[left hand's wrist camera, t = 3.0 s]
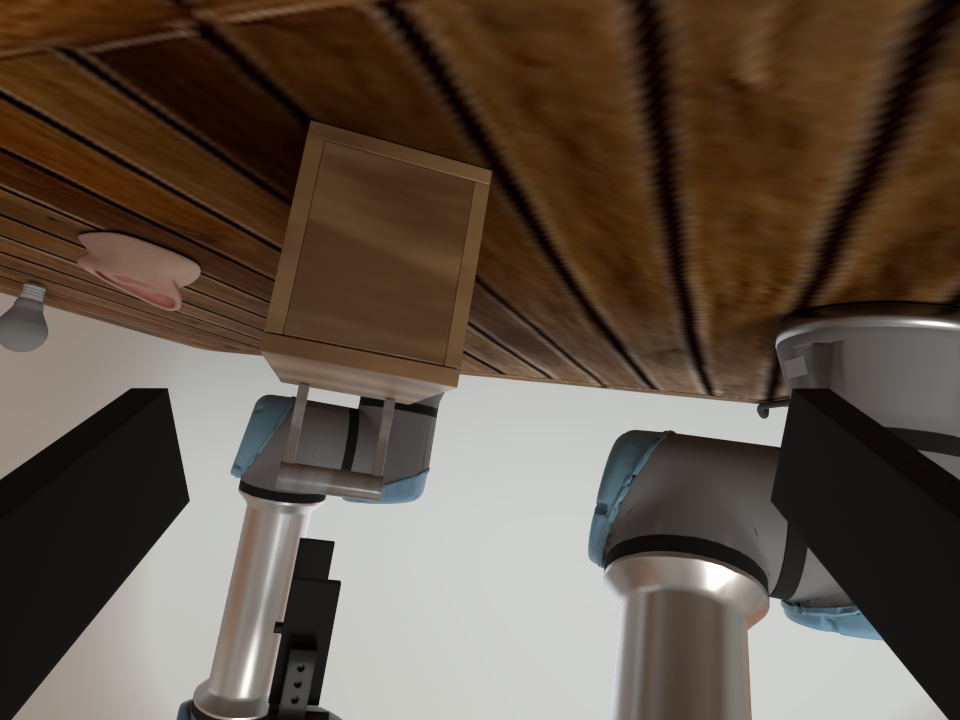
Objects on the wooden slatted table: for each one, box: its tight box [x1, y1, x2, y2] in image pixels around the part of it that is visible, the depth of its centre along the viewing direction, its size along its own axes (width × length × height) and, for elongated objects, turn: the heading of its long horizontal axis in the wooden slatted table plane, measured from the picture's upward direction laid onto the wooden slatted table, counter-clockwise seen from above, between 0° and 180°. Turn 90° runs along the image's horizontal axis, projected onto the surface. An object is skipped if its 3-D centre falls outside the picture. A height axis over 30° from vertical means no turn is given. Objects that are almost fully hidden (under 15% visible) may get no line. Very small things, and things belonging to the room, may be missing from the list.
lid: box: [260, 332, 460, 502], centre depth 36 cm, size 16×10×8 cm, turn 165°
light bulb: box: [0, 283, 48, 352], centre depth 84 cm, size 6×6×10 cm
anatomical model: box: [77, 232, 201, 311], centre depth 60 cm, size 13×4×12 cm
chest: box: [264, 120, 492, 369], centre depth 37 cm, size 16×10×11 cm, turn 165°
